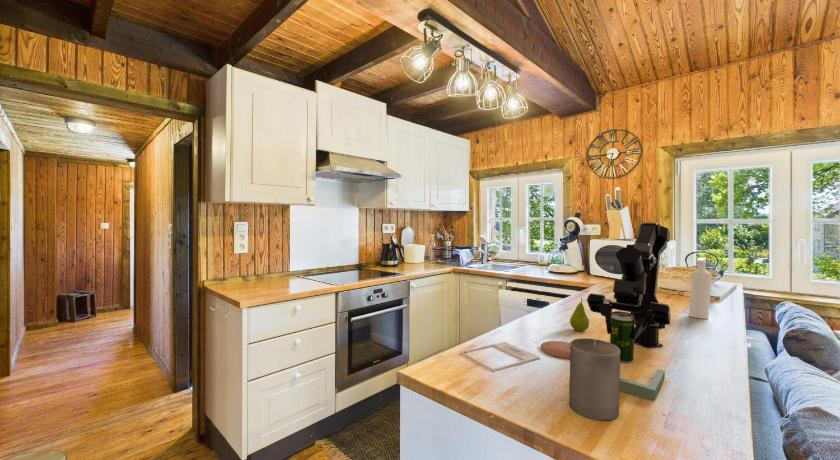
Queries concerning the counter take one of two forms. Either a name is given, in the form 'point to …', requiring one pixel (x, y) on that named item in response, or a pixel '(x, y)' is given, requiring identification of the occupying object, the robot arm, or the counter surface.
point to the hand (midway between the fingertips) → (620, 335)
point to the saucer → (557, 349)
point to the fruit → (579, 318)
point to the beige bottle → (700, 291)
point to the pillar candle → (594, 379)
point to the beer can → (623, 335)
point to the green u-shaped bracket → (644, 386)
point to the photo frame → (508, 349)
